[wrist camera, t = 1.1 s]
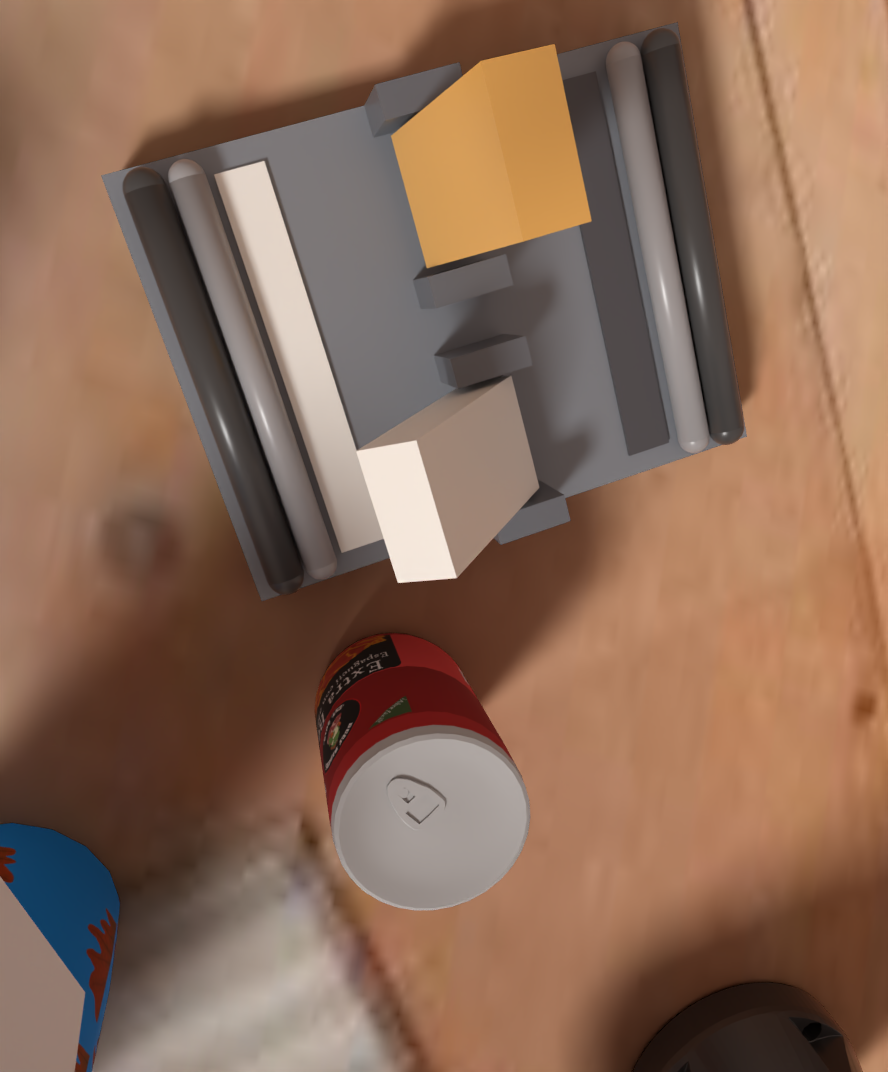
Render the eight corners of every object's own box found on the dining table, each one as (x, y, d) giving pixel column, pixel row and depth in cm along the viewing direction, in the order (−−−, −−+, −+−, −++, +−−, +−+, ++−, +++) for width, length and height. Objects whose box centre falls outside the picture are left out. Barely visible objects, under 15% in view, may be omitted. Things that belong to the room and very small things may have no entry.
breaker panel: (719, 429, 42) (787, 446, 37) (261, 584, 39) (262, 627, 34) (650, 40, 37) (718, -6, 31) (112, 185, 34) (84, 160, 28)
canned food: (360, 601, 41) (397, 700, 30) (494, 669, 43) (570, 782, 33) (283, 731, 41) (292, 871, 31) (418, 790, 44) (469, 938, 33)
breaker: (545, 481, 37) (456, 578, 29) (496, 487, 38) (398, 582, 30) (517, 370, 35) (416, 440, 27) (467, 381, 36) (355, 450, 28)
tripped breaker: (472, 254, 35) (591, 221, 26) (420, 270, 34) (523, 241, 25) (440, 127, 33) (554, 43, 24) (385, 140, 33) (480, 60, 24)
